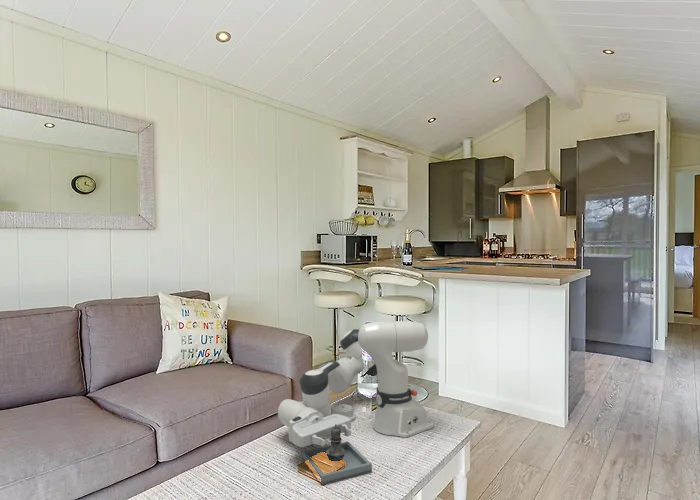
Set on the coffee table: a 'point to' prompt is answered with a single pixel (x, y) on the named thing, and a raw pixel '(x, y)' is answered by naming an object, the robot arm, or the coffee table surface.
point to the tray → (353, 468)
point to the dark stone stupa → (335, 445)
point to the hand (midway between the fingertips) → (337, 438)
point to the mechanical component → (344, 411)
